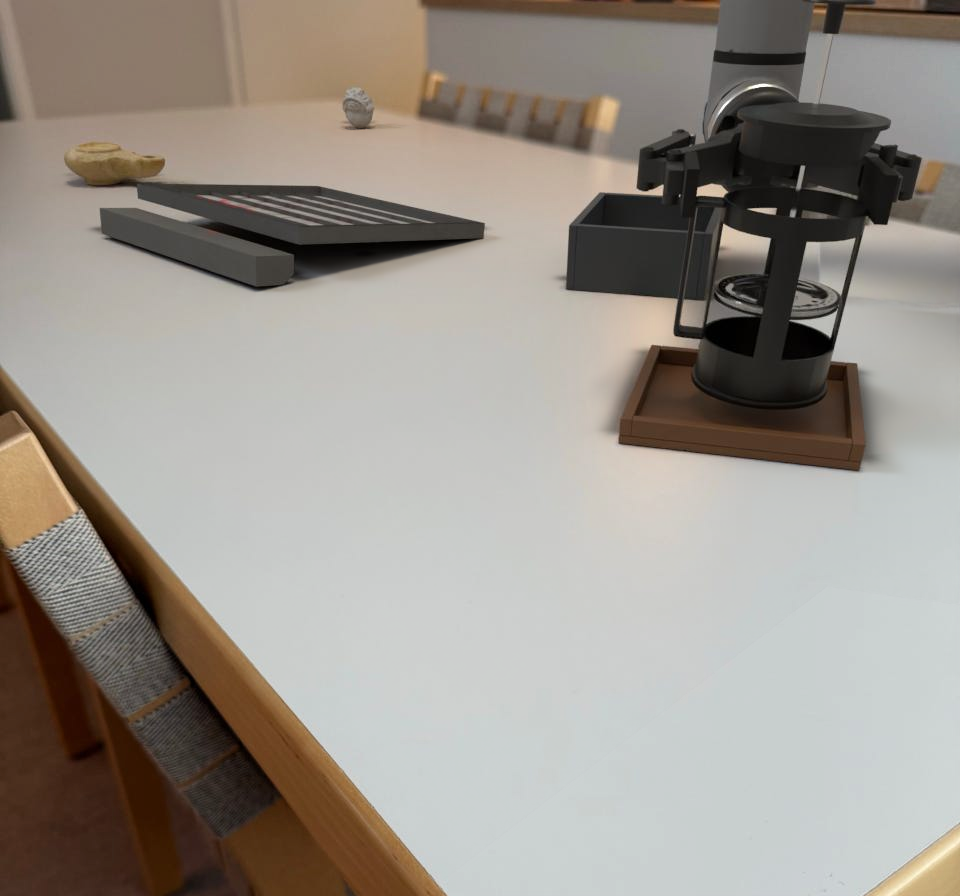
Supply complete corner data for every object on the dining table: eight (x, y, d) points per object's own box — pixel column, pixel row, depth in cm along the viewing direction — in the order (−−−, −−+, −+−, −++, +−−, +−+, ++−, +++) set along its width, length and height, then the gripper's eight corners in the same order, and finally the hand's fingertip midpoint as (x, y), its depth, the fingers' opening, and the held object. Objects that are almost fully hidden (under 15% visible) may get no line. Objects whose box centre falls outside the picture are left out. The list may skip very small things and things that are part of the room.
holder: (717, 258, 105) (726, 199, 102) (704, 300, 92) (712, 234, 89) (595, 249, 108) (599, 192, 105) (565, 289, 95) (568, 225, 92)
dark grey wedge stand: (318, 241, 133) (103, 248, 113) (317, 185, 130) (95, 182, 110) (482, 272, 114) (259, 287, 94) (485, 207, 111) (255, 209, 91)
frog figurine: (337, 130, 184) (334, 88, 180) (353, 125, 189) (350, 84, 185) (366, 131, 182) (364, 89, 178) (381, 126, 188) (379, 85, 184)
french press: (832, 369, 70) (928, -8, 57) (839, 419, 63) (951, 0, 49) (672, 351, 73) (727, -16, 59) (660, 397, 65) (720, -10, 51)
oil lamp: (169, 187, 137) (162, 149, 134) (63, 192, 135) (54, 152, 132) (170, 174, 146) (164, 137, 143) (71, 178, 143) (63, 141, 140)
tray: (852, 385, 74) (857, 362, 73) (859, 470, 61) (866, 444, 60) (649, 366, 77) (651, 344, 76) (618, 443, 65) (620, 418, 64)
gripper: (899, 197, 76) (972, 270, 58) (605, 187, 78) (588, 254, 61) (925, 88, 71) (1012, 131, 54) (613, 82, 74) (597, 121, 56)
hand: (787, 197), depth 57 cm, fingers closed on french press, 11 cm apart
